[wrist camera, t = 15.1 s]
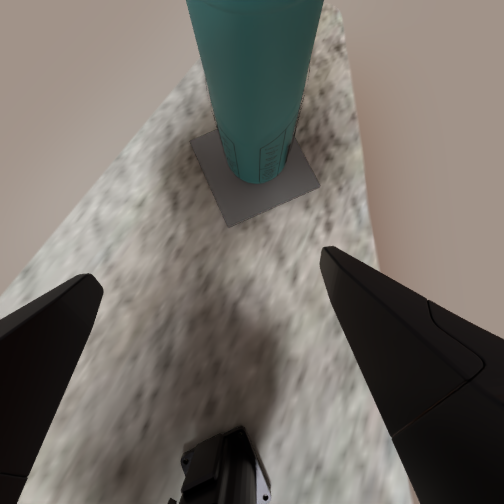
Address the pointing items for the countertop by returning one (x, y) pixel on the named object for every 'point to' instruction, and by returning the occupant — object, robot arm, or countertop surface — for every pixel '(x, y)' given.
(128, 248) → the countertop surface
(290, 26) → the beverage bottle
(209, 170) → the mat
